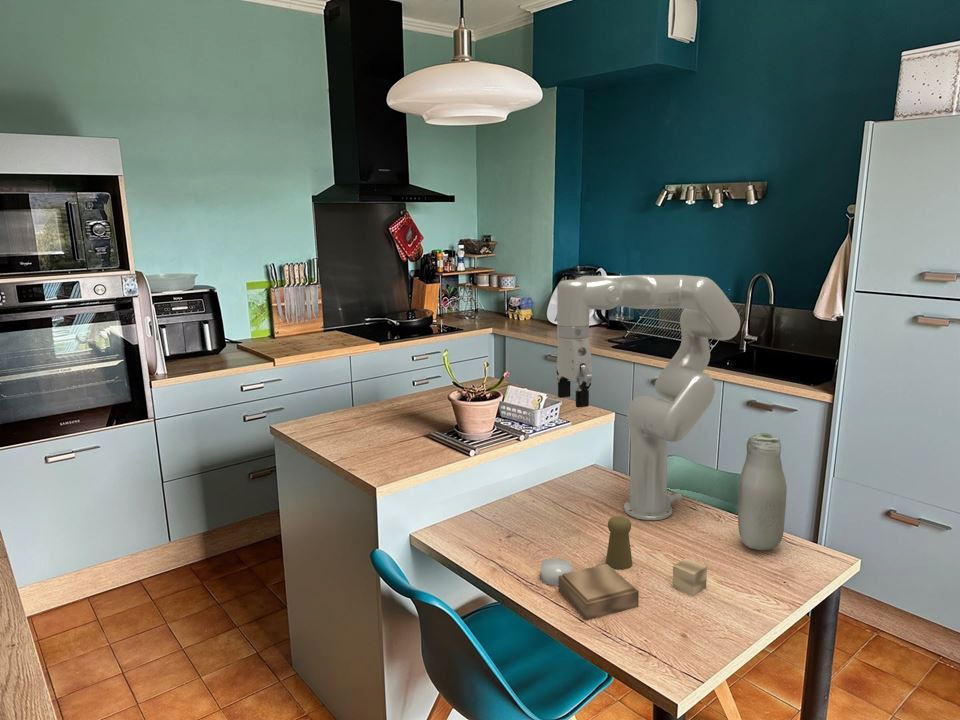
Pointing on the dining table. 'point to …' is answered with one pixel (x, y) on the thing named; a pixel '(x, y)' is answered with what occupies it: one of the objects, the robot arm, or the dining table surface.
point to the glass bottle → (762, 494)
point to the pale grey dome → (554, 570)
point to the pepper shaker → (619, 543)
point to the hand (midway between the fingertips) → (572, 401)
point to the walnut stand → (598, 591)
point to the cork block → (689, 576)
